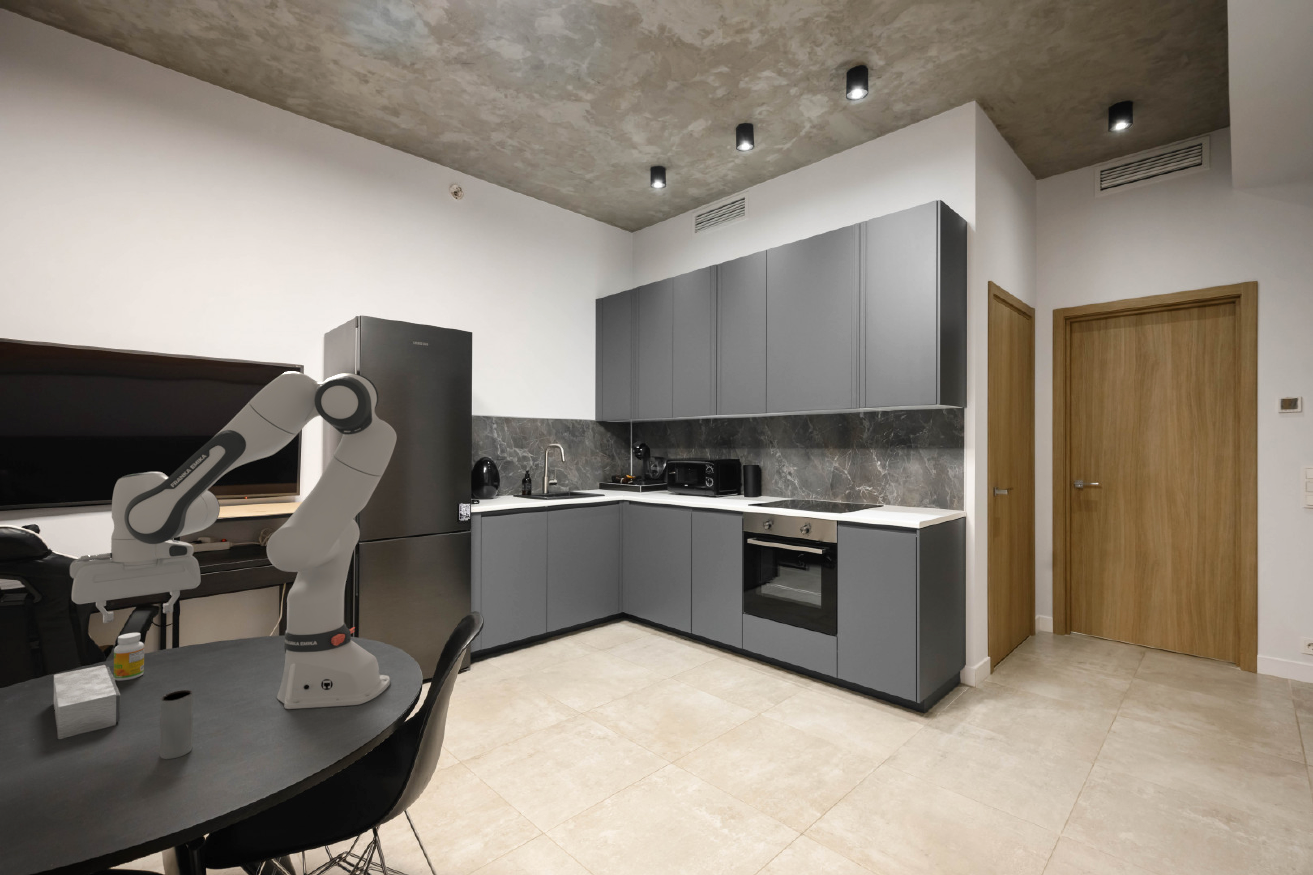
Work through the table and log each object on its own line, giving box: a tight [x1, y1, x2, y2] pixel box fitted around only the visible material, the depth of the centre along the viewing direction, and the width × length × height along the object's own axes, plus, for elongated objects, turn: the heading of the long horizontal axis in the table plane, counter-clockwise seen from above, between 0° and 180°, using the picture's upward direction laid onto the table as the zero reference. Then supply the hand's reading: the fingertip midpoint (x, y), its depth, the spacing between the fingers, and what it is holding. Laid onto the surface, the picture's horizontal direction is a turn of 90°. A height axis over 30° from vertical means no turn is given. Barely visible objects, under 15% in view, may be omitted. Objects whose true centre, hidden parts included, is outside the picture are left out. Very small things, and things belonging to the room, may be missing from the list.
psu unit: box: [53, 664, 121, 740], centre depth 123 cm, size 22×9×6 cm, turn 47°
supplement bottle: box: [113, 632, 145, 681], centre depth 142 cm, size 5×5×10 cm
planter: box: [159, 689, 194, 760], centre depth 108 cm, size 4×4×10 cm
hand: (138, 616), depth 125 cm, fingers open, 8 cm apart
